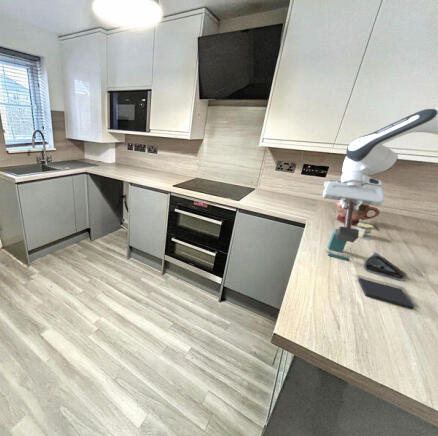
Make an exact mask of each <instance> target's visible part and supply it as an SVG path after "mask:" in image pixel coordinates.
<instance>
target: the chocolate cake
mask: <svg viewBox="0 0 438 436" xmlns="http://www.w3.org/2000/svg"><path fill="white" fill-rule="evenodd" d="M363 268H364V270H365V271H366V272H369V273H373V274H375V275H380V276H383V277H386V278H390V279H393V280H396V279H397V281H401V282H402V281H403V282H404V281H406V280H407V279H408V274H407V273H406V272H405V271H404V270H403V269H401V268H399V266H397V265H395V264H394V263H393V262H391V261H390V260H388V259H386V258H385V257H384V256H382V255H380V253H378V252H373V253H372V255H371V256H369V257H368V258H367V259H366V260H365V261H364V266H363Z"/></svg>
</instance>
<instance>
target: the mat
mask: <svg viewBox="0 0 438 436" xmlns="http://www.w3.org/2000/svg"><path fill="white" fill-rule="evenodd" d="M357 281H358V284H359V286H360V287H361V290H362V292H363V294H364V296H365V297H367V298H371V299H374V300H378V301H382V302H385V303H389V304H392V305H396V306H399V307H402V308H406V309H409V310H413V309H414V306H415V305H413V303H412V302H411V301H410V299H409V298H408V297H407V295H406V294H405V293H404V291H403V290H402V289H401V288H399V287H395V286H391V285H388V284H384V283H380V282H376V281H372V280H369V279H365V278H361V277H358V279H357Z"/></svg>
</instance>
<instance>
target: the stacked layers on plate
mask: <svg viewBox="0 0 438 436" xmlns="http://www.w3.org/2000/svg"><path fill="white" fill-rule="evenodd" d="M374 227H375V226H374V225H372V224H367V223H363V222H358V224H356V227H355V229H357V230H359V235H358V239H363V240H366V241H371V240H372V239H374V238H375V237H376V236H375V235H372V230H373V228H374Z"/></svg>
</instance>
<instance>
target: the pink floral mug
mask: <svg viewBox="0 0 438 436" xmlns="http://www.w3.org/2000/svg"><path fill="white" fill-rule="evenodd" d="M344 202H345V204H347V202H346V201H344ZM354 205H355V206H357V205H356V203H354ZM334 208H335V209H336V210H337V213H338V215H337V218H336V220H337V221H338V222H340V223H342V224H344V223H345V215H346V209H342V205H341V204H340V202H339V201H338V202H336V203H334ZM370 211H373V212H374V215H371V216H368V212H370ZM379 215H380V209H379V208H377V206H373V205H366V204H361V205H360V206H359V207H358V210H357V211H353V215H352V224H351V226H355V225H356V226H357V224H358V223H360V222H359V221H360V220H361V221H365V220H371V219H373V218H376V217H378V216H379Z"/></svg>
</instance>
